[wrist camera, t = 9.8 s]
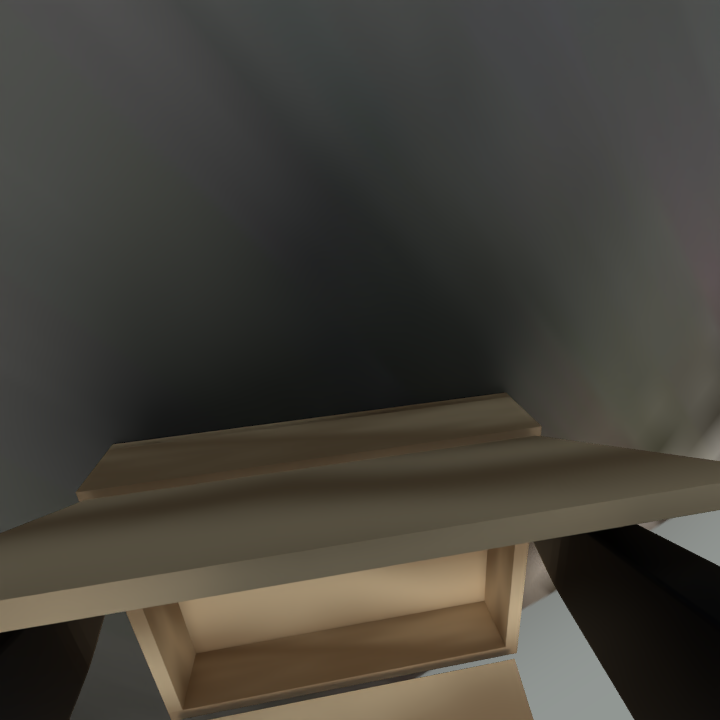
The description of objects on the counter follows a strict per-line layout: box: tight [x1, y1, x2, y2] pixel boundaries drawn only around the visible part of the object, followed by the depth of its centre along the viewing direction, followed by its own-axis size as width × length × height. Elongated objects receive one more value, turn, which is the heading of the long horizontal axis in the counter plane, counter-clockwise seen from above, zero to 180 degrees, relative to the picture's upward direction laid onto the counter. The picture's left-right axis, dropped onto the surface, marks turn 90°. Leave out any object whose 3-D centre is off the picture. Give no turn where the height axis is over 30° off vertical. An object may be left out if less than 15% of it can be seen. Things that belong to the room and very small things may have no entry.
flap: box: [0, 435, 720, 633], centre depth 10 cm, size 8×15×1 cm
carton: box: [76, 393, 542, 720], centre depth 18 cm, size 13×16×3 cm
